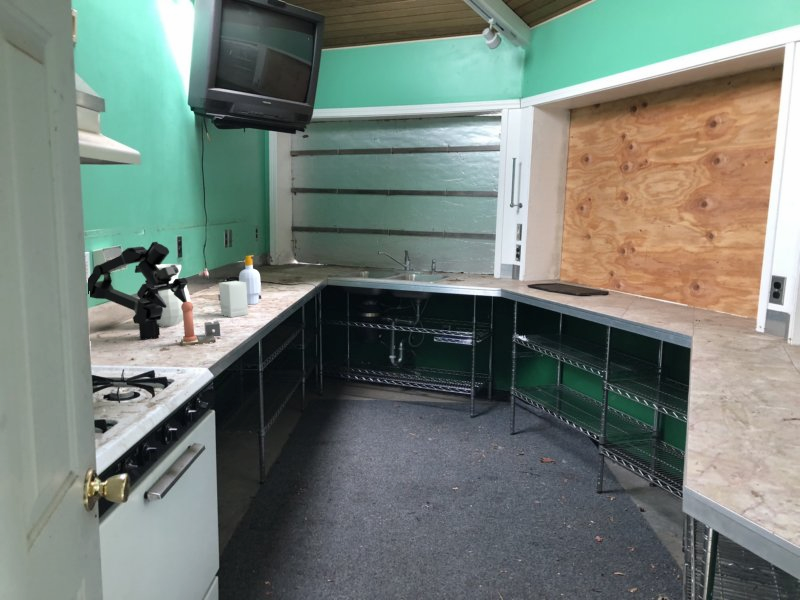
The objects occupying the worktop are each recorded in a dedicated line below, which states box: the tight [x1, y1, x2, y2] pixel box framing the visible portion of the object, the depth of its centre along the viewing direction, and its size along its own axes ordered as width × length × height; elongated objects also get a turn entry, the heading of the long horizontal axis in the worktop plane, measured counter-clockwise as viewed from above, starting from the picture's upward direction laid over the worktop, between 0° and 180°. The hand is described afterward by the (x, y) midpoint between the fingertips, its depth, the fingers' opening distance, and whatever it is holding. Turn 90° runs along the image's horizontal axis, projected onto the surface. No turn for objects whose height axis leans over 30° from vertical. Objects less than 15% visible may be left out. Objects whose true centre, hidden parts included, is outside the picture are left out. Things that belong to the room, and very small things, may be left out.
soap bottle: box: [238, 255, 262, 306], centre depth 271 cm, size 10×10×24 cm
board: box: [180, 336, 217, 347], centre depth 198 cm, size 11×7×1 cm, turn 116°
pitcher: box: [144, 263, 191, 327], centre depth 227 cm, size 19×18×25 cm
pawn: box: [181, 301, 197, 342], centre depth 195 cm, size 4×4×14 cm
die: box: [204, 320, 221, 337], centre depth 207 cm, size 5×6×6 cm
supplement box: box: [218, 280, 249, 318], centre depth 245 cm, size 9×9×15 cm
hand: (176, 305), depth 197 cm, fingers open, 9 cm apart
